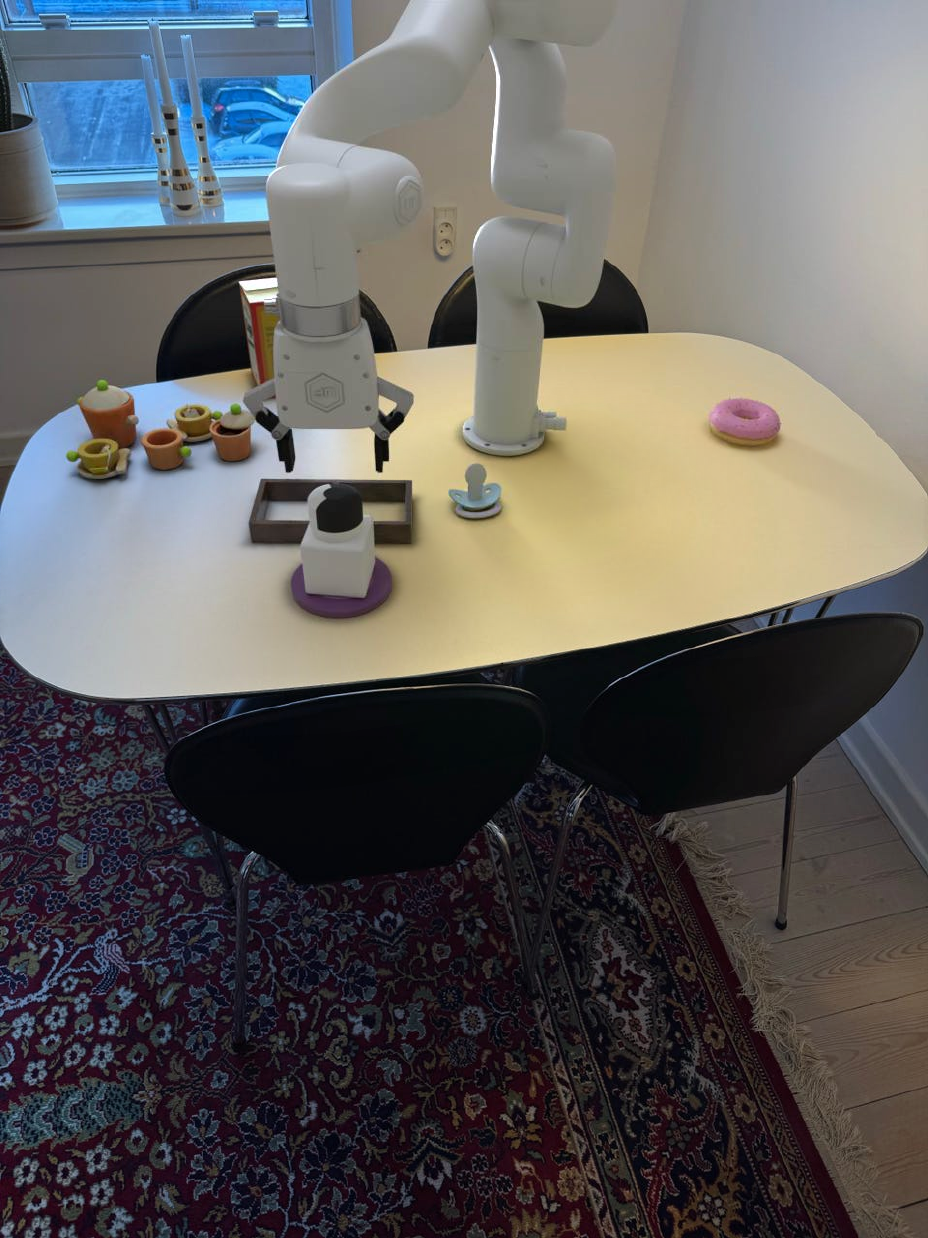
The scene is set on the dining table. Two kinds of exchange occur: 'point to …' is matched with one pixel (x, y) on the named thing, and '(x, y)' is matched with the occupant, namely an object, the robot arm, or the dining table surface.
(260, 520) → the frame
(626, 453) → the dining table surface
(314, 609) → the lid
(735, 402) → the doughnut
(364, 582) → the medicine bottle
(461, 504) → the pacifier
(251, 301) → the baking soda box
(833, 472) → the dining table surface
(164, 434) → the toy tea set
